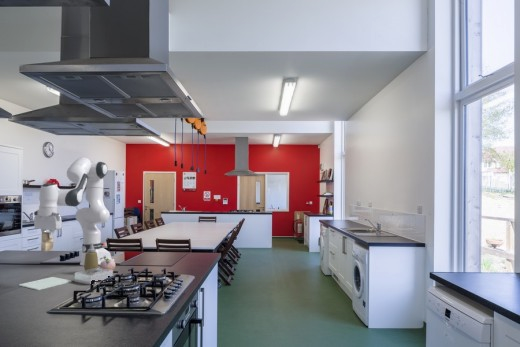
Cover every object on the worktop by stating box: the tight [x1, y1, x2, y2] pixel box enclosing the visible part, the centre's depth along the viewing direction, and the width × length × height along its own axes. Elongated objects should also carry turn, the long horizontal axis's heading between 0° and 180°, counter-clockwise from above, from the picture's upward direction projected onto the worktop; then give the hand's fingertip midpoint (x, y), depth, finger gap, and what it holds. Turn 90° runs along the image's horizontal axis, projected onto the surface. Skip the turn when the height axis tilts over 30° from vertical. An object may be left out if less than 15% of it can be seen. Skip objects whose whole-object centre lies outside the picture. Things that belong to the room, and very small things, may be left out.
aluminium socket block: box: [74, 267, 114, 286], centre depth 192 cm, size 14×14×5 cm
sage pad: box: [18, 276, 73, 291], centre depth 185 cm, size 18×18×1 cm
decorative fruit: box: [99, 258, 116, 271], centre depth 206 cm, size 9×8×10 cm
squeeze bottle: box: [83, 243, 99, 270], centre depth 210 cm, size 8×8×18 cm
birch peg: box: [40, 231, 54, 252], centre depth 186 cm, size 4×4×10 cm
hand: (47, 237), depth 186 cm, fingers closed on birch peg, 4 cm apart
